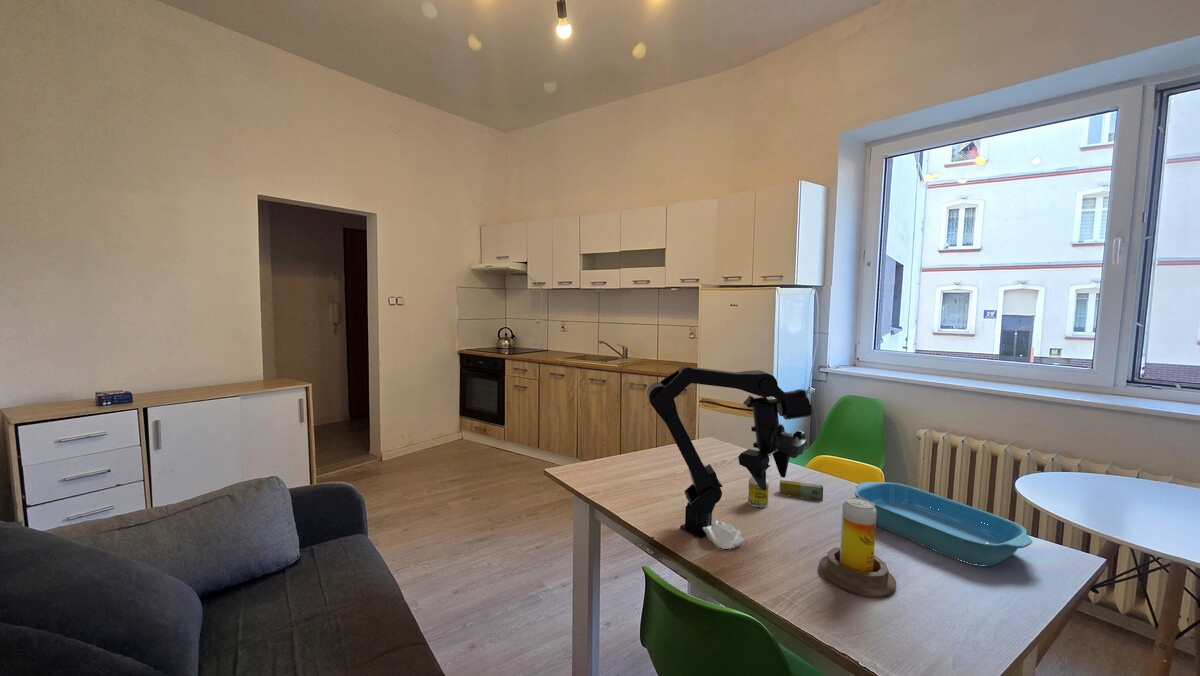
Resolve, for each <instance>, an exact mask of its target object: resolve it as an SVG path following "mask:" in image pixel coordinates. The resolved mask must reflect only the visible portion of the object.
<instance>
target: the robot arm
mask: <svg viewBox="0 0 1200 676" xmlns="http://www.w3.org/2000/svg"><path fill="white" fill-rule="evenodd" d="M691 384H697V385H704V386H711V387H712V386H713V387H721V388H722V387H723V388H729V389H737V390H740V391H743V392H746V393H748V394H752V395H756V396H758V397H754V396H751V395H748V397H747V398H746V399H745V400H744V401H743V404H742V405H744V406H746V407H747V408H752V413H753V415H752V416H753V423H754V425H753V426H751V428H750V429H751V432H754V433H755V438H756V439H755V442H753V445H752V446H753V448H756V449H757V450H756V449H750V448H749V449H746V450H745V451H743V452H740V454H739V455H738V456H737V459H738V464H739V466H742V467H743V468H746V469H747V471H748V472H749V473H750V474H751V475H750V476H751V477H752V476H753V478H754V479H755V481H756V482H757V484H758V485H759V487H760V489H761V490H766V479H767V470H768V469H769V467H770V466H771V464H769V463H770V455H772V457H773V460H774V463H775V465H776V469H777V471H778V474H779V476H780V477H781V478H783V479H784V478H786V477H787V472H788V468H789V463H790V462H789V461H790V458H791V459H796V458H798V457H799V456H800V455H803V452H804V449H805V447H806V446H808V442H807V441H808V440H807V438H806V433H805V432H804V431H802V430H800V429H799V430H797V431H795V432H794V433H793V432H786V430H785V426H784V425H783V424H781V423H780V420H779V419H780V418H779V416H780V417H782V418H783V419H784V420H785V421H786V420H788V421H789V420H793V419H802V418H808V417H809V418H810V417H811V416H812V413H813V411H812V404H811V403H810V400H809V397H808V396H807V392H806V390H804V389H803V388H801V389H794V390H792V391H791V390H790V391H783V390H782V388H781V387H779V385H778V380H777V379H776V377H775V376H774V375H772V374H771V373H769V372H766V371H763V370H760V369H759V370H746V371H745V370H744V371H727V370H721V369H719V370H718V369H710V368H702V367H693V366H689V365H683V366H681V367H680V368H678V369H677V370H676V371H675V372H673V373H671V374H670V375H667V376H665V378H663V379H662V380H661V381H660V382H653V383H652V384H650V385H649V386H648V388H647V390H646V397H647V399H648V401H649V403H650V406H651V407H652V408H653V409H654V411H655V412H656V413H657V414H658V416H659V417H660V418H661V419H662V421H663V422H664V423H665V425H666V426H667V429H668V430H669V433H670V435H671V436H672V438H673V441H674V442H675V444H676V446H677V448H678V450H679V452H680V455H682V457H683V460H684V462H685V464H686V465H687V468H688V471H689V475H690V479H691V482H692V484H690V486H688V487H687V488H686V489H685V490H684V495H685V499H686V500H687V501H688V502H687V503H686V504H687V505H686V506H685V511H684V512H685V518H684V523H683V524H681V525H680V526H679V528H680V529H681V530H683V531H686V532H687V533H688V534H691V535H693V536H695V537H696V538H699V539H700V538H703V537H706V533H705V532H704V530H703V529H702V528H703V527H708V526H712V525H713V524H712V520H713V519H712V518H713V517H712V516H713V511H714V509H715V506H716V504H717V503H719V502H720V501H721V499H722V496H723V492H722V489H721V488H723V484H722V483H721V481H720V479H719V478H718V476H717V473H716V471H715V469H714V468H713V466H712V465H711V464H710V463H708V464H707V465H706V466H705V464H704V463H703V461H702V460H701V458H700V456H699V453H698V452H697V450H696V448H695V446H694V444H693V442H692V440H691V438H690V436H689V434H688V432H687V430H686V429H685V427H684V424H683V422H682V421H681V418H680V416H679V413H678V408H677V404H676V401H675V398H677V397H678V396H679V395H680V394H681V393H683V391H685V389H686V388H687V387H688V386H689V385H691ZM769 397H771V398H772V399H768V398H769Z"/></svg>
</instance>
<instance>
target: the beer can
mask: <svg viewBox="0 0 1200 676" xmlns="http://www.w3.org/2000/svg"><path fill="white" fill-rule="evenodd" d="M876 514H877V511H876V508H875V505H874V503H872V502H871V501H869V500H866V499H863V498H857V497H856V496H850V497H846V498H845V500H844V502H843V504H842V514H841V531H840V535H841V536H840V564H842V565H843V566H846V567H848V568H850V569H852V570H856V571H861V572H866V573H870V572H873V562H874V555H875V545H876V544H875V543H876V528H877V525H876Z"/></svg>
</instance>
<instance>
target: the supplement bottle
mask: <svg viewBox="0 0 1200 676" xmlns="http://www.w3.org/2000/svg"><path fill="white" fill-rule="evenodd" d="M769 482H770V481H769V480H768V478H766V490H761V489H760V487H759V485H758V484H757V482H756V481H755V479H754V478H753V476H752V475H751V477H749V479H748V494H747V502H748V504H749V505H750V506H751V505H752V506H751V507H753V508H754V507H755V508H758V507H760V509H762V508H763V507H764V508H766V507H767V506H768V505H769V488H770V487H769V486H770V485H769Z"/></svg>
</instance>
